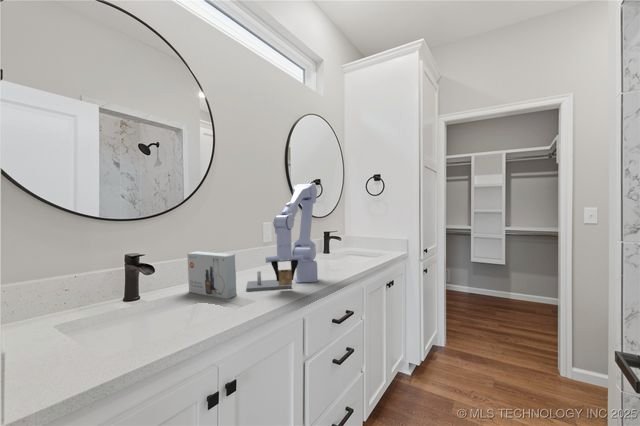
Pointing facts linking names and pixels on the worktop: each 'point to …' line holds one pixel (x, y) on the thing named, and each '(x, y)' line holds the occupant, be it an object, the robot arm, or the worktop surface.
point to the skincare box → (212, 274)
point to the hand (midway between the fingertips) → (284, 279)
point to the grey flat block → (264, 284)
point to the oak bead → (285, 277)
